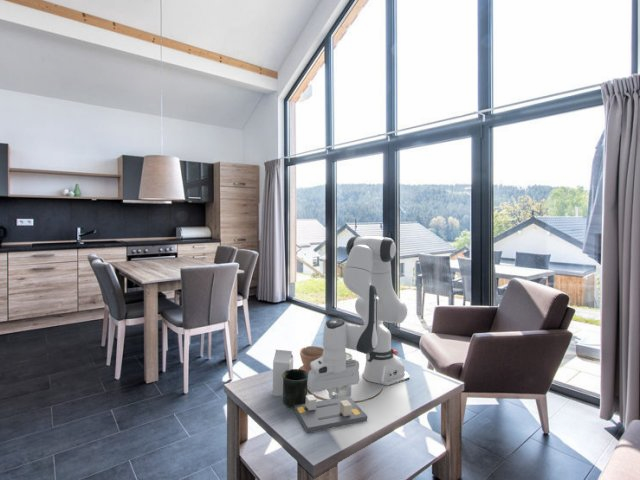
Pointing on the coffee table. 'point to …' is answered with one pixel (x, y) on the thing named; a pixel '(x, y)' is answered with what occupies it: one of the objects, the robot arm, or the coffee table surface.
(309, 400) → the off white slider
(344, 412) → the sand slider
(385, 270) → the robot arm
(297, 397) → the mug
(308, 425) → the switch panel
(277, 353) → the milk carton
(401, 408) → the coffee table surface
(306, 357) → the ceramic jug
